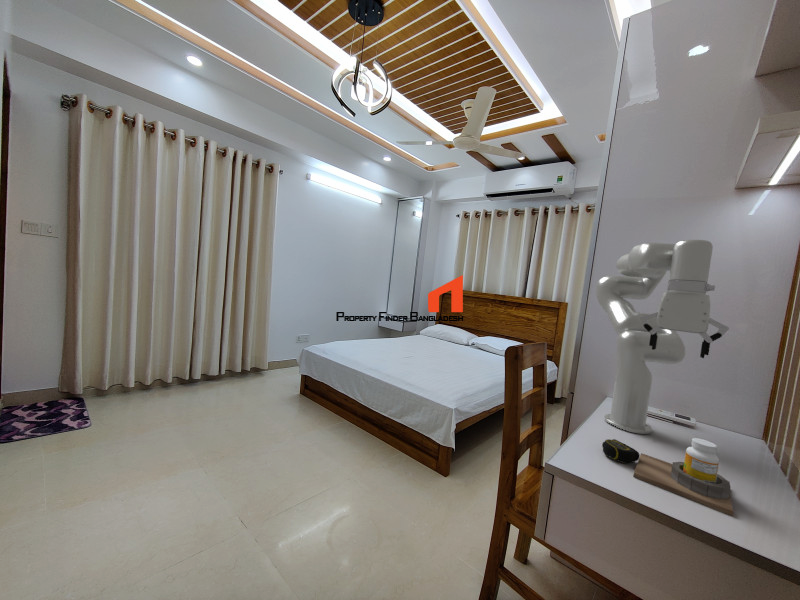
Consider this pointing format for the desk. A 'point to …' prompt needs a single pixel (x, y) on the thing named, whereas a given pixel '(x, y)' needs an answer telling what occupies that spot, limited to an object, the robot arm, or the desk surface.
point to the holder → (684, 483)
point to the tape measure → (620, 451)
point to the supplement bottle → (701, 460)
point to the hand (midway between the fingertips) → (676, 353)
